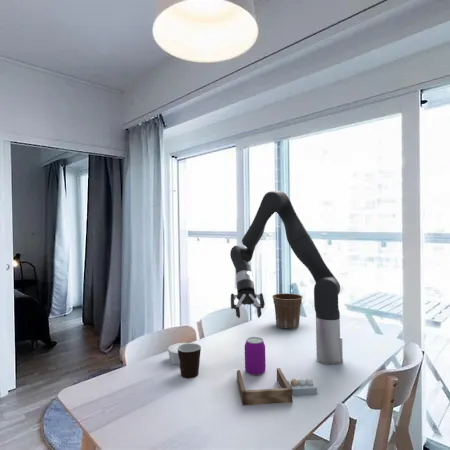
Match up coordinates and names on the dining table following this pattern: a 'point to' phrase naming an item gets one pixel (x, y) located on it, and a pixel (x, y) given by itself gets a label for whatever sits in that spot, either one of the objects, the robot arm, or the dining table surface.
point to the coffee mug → (189, 359)
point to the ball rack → (302, 386)
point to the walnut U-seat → (265, 392)
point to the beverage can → (255, 356)
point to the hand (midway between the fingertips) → (249, 316)
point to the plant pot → (287, 310)
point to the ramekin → (174, 353)
